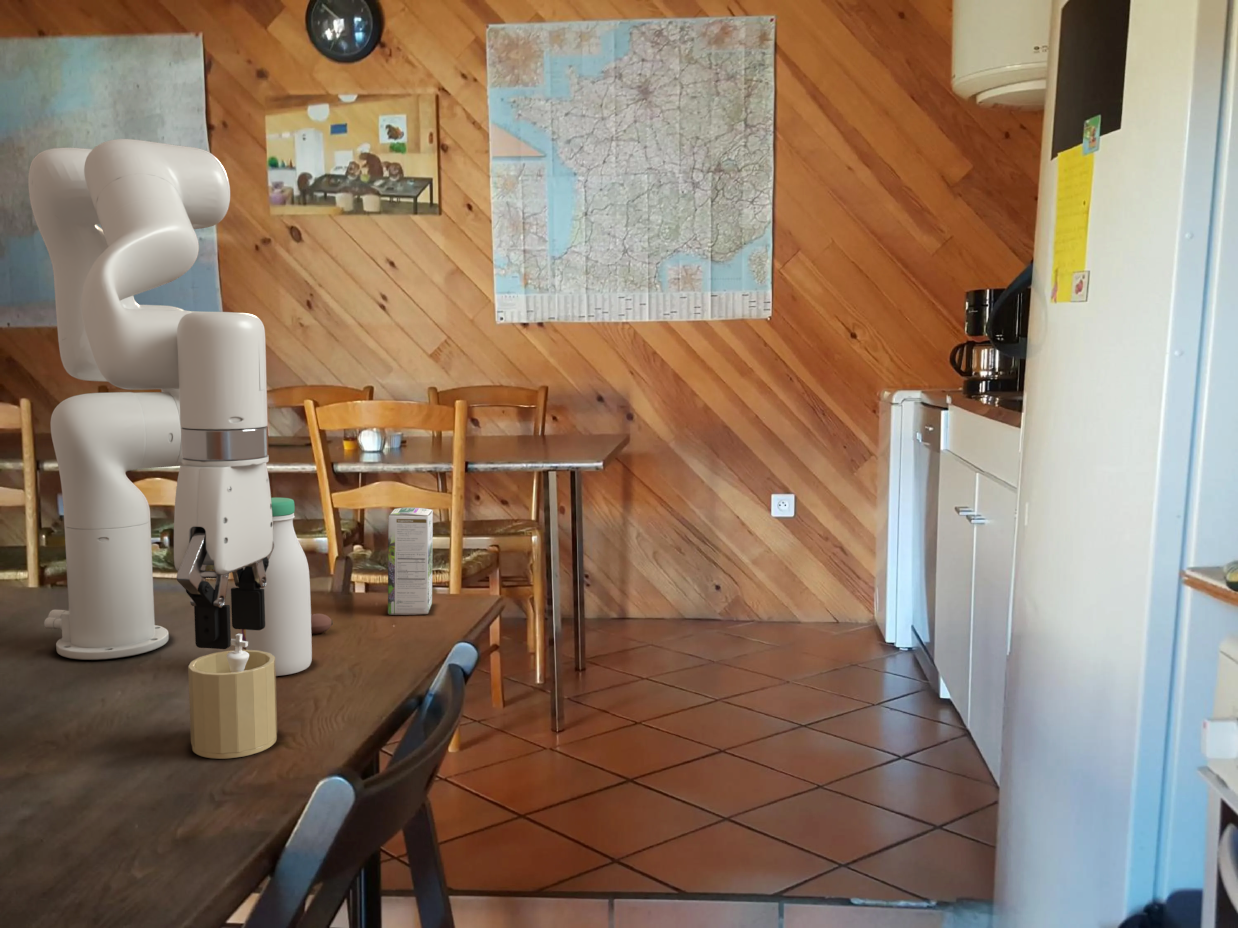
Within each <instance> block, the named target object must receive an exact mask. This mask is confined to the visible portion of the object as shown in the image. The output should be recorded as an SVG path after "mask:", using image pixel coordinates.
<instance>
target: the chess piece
mask: <svg viewBox="0 0 1238 928" xmlns="http://www.w3.org/2000/svg"><path fill="white" fill-rule="evenodd" d="M231 646H234V650H235V651H231V650H230V651H231V652H229V653H228V654H227V660H228V663H229V666H230V670H231V672H239V671H244V669H245V665H246V663H247V661H248V658H249V653H247V652H246V651H242V647H247V646H248V641H242V633H239V632H238V633H237V634H235V637H234V638H231Z"/></svg>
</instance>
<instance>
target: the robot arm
mask: <svg viewBox="0 0 1238 928" xmlns="http://www.w3.org/2000/svg"><path fill="white" fill-rule="evenodd" d="M228 177H229V176H228V174H227V171H226V170H225V167H224V165H223V164H222V162H221V161H220V160H219V159H218V158H217V157H216V156H215V155H214V154H213V153H211V152H209V150H205V149H203V148H199V147H194V146H188V145H187V146H186V145H179V144H171V143H164V142H158V141H157V142H156V141H151V140H150V141H148V140H143V139H135V138H116V139H110V140H107V141H104V142H101V143H99V144H97V145H96V146H94V147H93V148H83V147H54V148H53V147H52V148H48V149H45V150H43V151H41V152H39V153H38V154H36V155H35V156H34V158H33V159H32V160H31V163H30V166H29V169H28V179H27V180H28V183H27V185H28V196H29V201H30V206H31V210H32V214H33V218H34V220H35V224H36V226H37V228H38V231H39V233H40V236H41V238H42V241H43V242H44V245H45V247H46V250H47V253H48V256H49V259H50V262H51V265H52V272H53V273H52V274H53V285H54V287H53V288H54V297H55V298H54V299H55V314H56V327H57V341H58V348H59V349H58V350H59V356H60V360H61V363H62V366H63V369H64V370H65V372H66V373H67V374H68V375H69V376H71V377H73V378H75V379H77V380H82V381H88V382H89V381H90V382H108V383H109V384H110V385H112V386H114V387H116V388H119V389H122V390H131V391H122V392H120V391H119V392H118V391H117V392H116V391H115V392H91V393H82V394H77V395H73V396H70V397H67V398H66V399H64V400H62V401H61V402H60V403H58V404H57V405H56V407H55V408H54V409H53V411H52V413H51V416H50V435H51V440H52V444H53V449H54V453H55V458H56V462H57V467H58V472H59V478H60V487H61V495H62V507H63V524H64V541H65V542H64V543H65V560H66V561H65V562H66V581H67V584H66V585H67V603H68V609H51V610H50V611H49V613H48V615H47V617H46V618H45V619H44V621H43V626H44V628H45V629H51V630H52V629H54V630H57V629H60V630H61V637H60V638H59V639H58V640H57V641H56V643H55V648H56V653H57V654H58V655H60V656H61V657H64V658H67V659H72V660H84V661H87V660H89V661H90V660H91V661H99V660H100V661H101V660H112V659H120V658H127V657H132V656H137V655H142V654H146V653H149V652H152V651H155V650H156V649H159V648H161V647H163V646H164V645H166V644H167V643H168V642H169V639H170V635H169V630H168V629H167V628H166V627H163V626H161V625H158V624H157V625H156V621H155V597H154V576H153V575H154V572H153V551H152V550H153V547H152V525H151V524H152V523H151V509H150V504H149V502H148V499H147V497H146V496H145V494H144V493H143V492H142V491H141V489H140V488H139V487H138V486H137V485H136V484H134V482H132V481H131V480H130V479H129V478H128V476H127V474H126V473H127V472H129V471H134V470H135V471H136V470H141V469H142V470H143V469H158V468H170V467H171V468H172V467H179V470H178V475H177V481H176V488H175V496H174V497H175V498H174V519H173V562H174V563H173V564H174V568H175V570H176V571H177V573H176V581H177V582H178V584H180V585H181V586H182V588H183V589H184V590H185V592H186V594H187V596H189V603H190V605H191V606H192V607H193V610H194V611H193V613H194V616H193V617H194V642H195V646H196V648H198V649H199V648H200V649H212V650H213V649H214V650H227V649H228V648H230V647H231V646H232V645H231V639H232V635H231V634H232V632H231V631H232V629H231V627H232V628H233V629H234V630H242V629H243V630H262V629H264V628H265V599H264V589H260V588H264V587H265V586H266V583H267V579H266V574H265V573H266V570H267V568H268V566H269V565H268V564H269V558H270V556H271V554H272V551H273V549H274V542H273V520H272V504H271V498H272V494H271V493H272V492H271V486H270V478H269V477H270V476H269V472H268V465H267V463H269V461H270V459H269V458H270V457H269V456H270V455H269V425H268V423H269V422H268V421H269V420H268V389H267V388H268V386H267V385H268V384H267V351H266V350H267V347H266V346H267V345H266V328H265V326H264V323H263V321H262V320H261V319H260V317H258V316H257V315H254V314H252V313H248V312H247V313H246V312H234V311H233V312H231V311H195V310H194V311H193V310H191V311H190V310H186V309H185V310H184V309H183V308H180V307H177V306H173V305H163V304H162V305H160V304H139V303H137V301H136V300H135V296H136V295H139V294H142V293H145V292H148V291H151V290H153V289H157V288H159V287H162V286H164V285H166V284H169V283H172V282H174V281H175V280H177V279H179V278H181V277H182V276H184V275H185V274H186V273H187V272H188V271H190V269H192V267H193V266H194V264H195V262H196V261H197V259H198V256H199V252H200V244H199V239H198V235H197V233H196V231H195V230H200V229H206V228H210V227H214V226H216V225H218V224H219V223H220V222H222V221H223V220H224V219H225V217H226V215H227V213H228V211H229V208H230V204H231V203H230V202H231V186H230V180H229V178H228ZM133 390H136V391H137V390H140V391H141V390H143V391H145V390H161V391H154V392H153V391H149V392H147V391H146V392H132V391H133ZM207 566H214V567H212V568H213V570H207ZM244 567H245V568H244ZM243 568H244V569H243ZM230 574H232V577H233V582H234V585H235V587H233V586H232V587H230V603H231V604H226V597H227V591H228V583H229V577H230ZM207 579H212V580H213V579H214V580H215V583H214V587H213V586H212V585H211V584H210V582H209V581H208V580H207ZM206 580H207V581H206Z"/></svg>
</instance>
